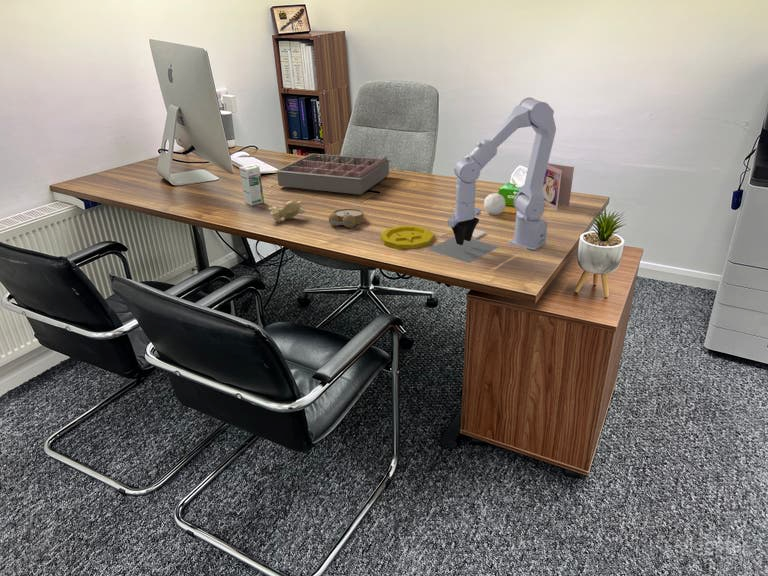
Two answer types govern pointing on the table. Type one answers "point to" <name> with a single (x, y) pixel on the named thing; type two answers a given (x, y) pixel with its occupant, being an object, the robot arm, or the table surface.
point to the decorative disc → (406, 237)
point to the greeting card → (557, 185)
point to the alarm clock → (346, 217)
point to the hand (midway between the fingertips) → (463, 242)
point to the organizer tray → (334, 173)
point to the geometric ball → (494, 204)
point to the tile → (478, 233)
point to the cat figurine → (286, 210)
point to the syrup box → (251, 184)
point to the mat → (463, 249)
